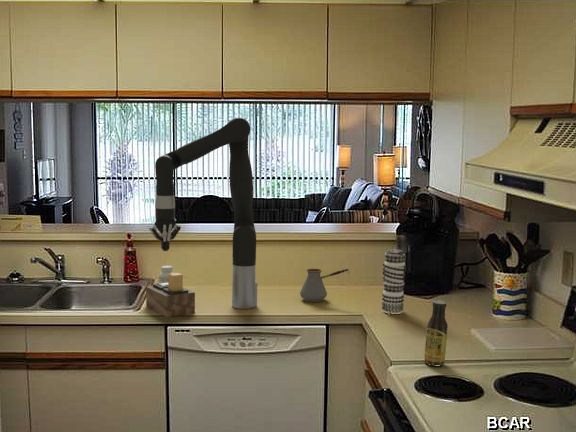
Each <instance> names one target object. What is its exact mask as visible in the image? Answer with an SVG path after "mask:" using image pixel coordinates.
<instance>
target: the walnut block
mask: <svg viewBox="0 0 576 432" xmlns="http://www.w3.org/2000/svg"><path fill="white" fill-rule="evenodd" d="M165 283H168V282H165ZM158 284H161V283H159V282H158V283H157V282H156V283H152V285H150V286H145V293H146V294H145V299H146V300H145V303H146V304H145V306H147V308H149V309H150V310H152V311H154V312H155V313H157V314H160V315H161V316H163V317H166V318H170V317H176V316H182V315H183V316H184V315H189V314H190V315H191V314H195V313H196V292H195V291H193V290H191V289H189V288H185V287H183V290H180V291H170V290H168V286H164V287H162V286H160V285H158Z"/></svg>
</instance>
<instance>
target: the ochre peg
mask: <svg viewBox="0 0 576 432" xmlns="http://www.w3.org/2000/svg"><path fill="white" fill-rule="evenodd" d="M183 277H184V276H183V274H182V273H179V272H173V273H171V274H168V290H170V291H180V290H183V285H184V284H183V282H184V281H183Z"/></svg>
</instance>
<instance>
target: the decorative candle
mask: <svg viewBox="0 0 576 432" xmlns="http://www.w3.org/2000/svg"><path fill="white" fill-rule="evenodd" d="M384 255H385V257H384V263H382V266H383V268H382V275H383V276H382V279H383V280H382V283H383V285H384V286H383V293H382V302H381V305H382V306H381V309H382V310H383V311H385V312H388V313H399V312H401V311H403V310H404V301H405V300H404V298H405V295H404V285H405V280H406V277H405V276H407V275H406V273H405V272H406V271H407V269H406V267H407V265H406V263H405V262H406V261H405V257H406V254H405V253H404V252H403V250H401V249H397V248H394V249H393V248H391V249H388V250H387V251H386V252H385V253H384Z"/></svg>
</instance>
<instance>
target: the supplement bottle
mask: <svg viewBox="0 0 576 432" xmlns="http://www.w3.org/2000/svg"><path fill="white" fill-rule="evenodd" d="M173 268H174V267H173V265H163V266H161V268H160V269H161V272H160V273H158V283H165V282H168V274H171V273H174V272H173Z"/></svg>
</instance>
